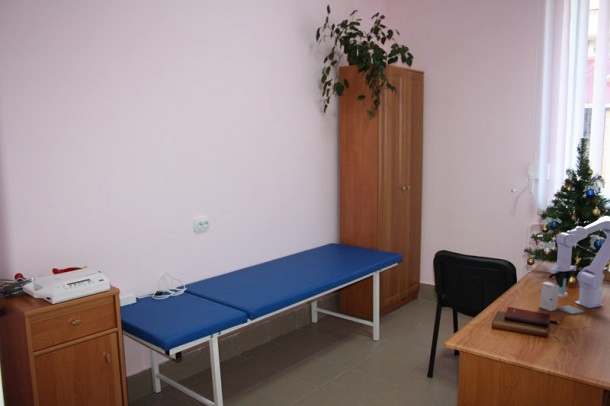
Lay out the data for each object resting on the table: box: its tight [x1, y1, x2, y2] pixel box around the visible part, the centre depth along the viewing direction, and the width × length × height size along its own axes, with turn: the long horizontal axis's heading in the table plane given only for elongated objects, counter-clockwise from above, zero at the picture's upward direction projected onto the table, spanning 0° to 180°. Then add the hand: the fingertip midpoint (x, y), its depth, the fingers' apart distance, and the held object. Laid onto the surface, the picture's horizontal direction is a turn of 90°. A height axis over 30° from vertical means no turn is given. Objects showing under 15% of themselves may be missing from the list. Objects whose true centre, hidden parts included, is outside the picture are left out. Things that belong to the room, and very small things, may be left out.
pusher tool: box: [558, 278, 569, 298], centre depth 220 cm, size 4×4×8 cm
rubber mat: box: [556, 304, 585, 316], centre depth 215 cm, size 8×8×1 cm
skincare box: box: [539, 281, 559, 312], centre depth 218 cm, size 6×4×12 cm
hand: (562, 286), depth 220 cm, fingers closed on pusher tool, 2 cm apart
